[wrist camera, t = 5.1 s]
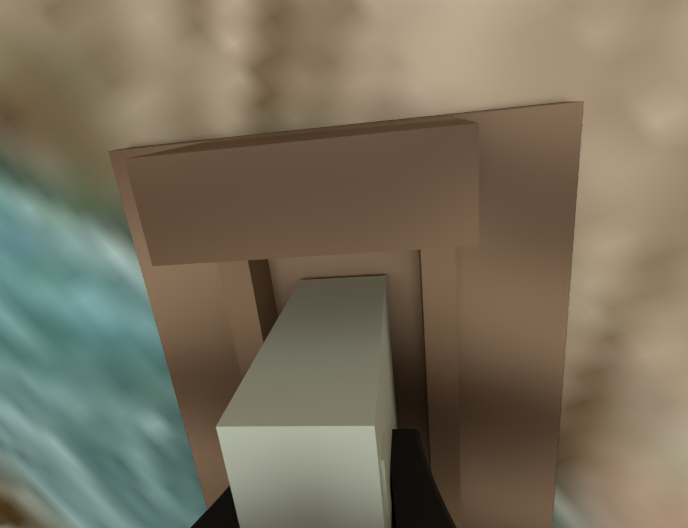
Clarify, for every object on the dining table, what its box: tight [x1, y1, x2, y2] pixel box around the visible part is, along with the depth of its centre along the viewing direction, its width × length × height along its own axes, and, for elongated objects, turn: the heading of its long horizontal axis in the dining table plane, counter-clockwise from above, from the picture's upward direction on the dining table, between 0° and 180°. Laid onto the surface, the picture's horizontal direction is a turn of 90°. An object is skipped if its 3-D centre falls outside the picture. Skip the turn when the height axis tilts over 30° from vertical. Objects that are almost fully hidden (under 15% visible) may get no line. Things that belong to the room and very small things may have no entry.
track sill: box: [109, 102, 584, 528], centre depth 12 cm, size 16×12×5 cm
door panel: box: [216, 275, 398, 528], centre depth 11 cm, size 8×2×6 cm, turn 6°
